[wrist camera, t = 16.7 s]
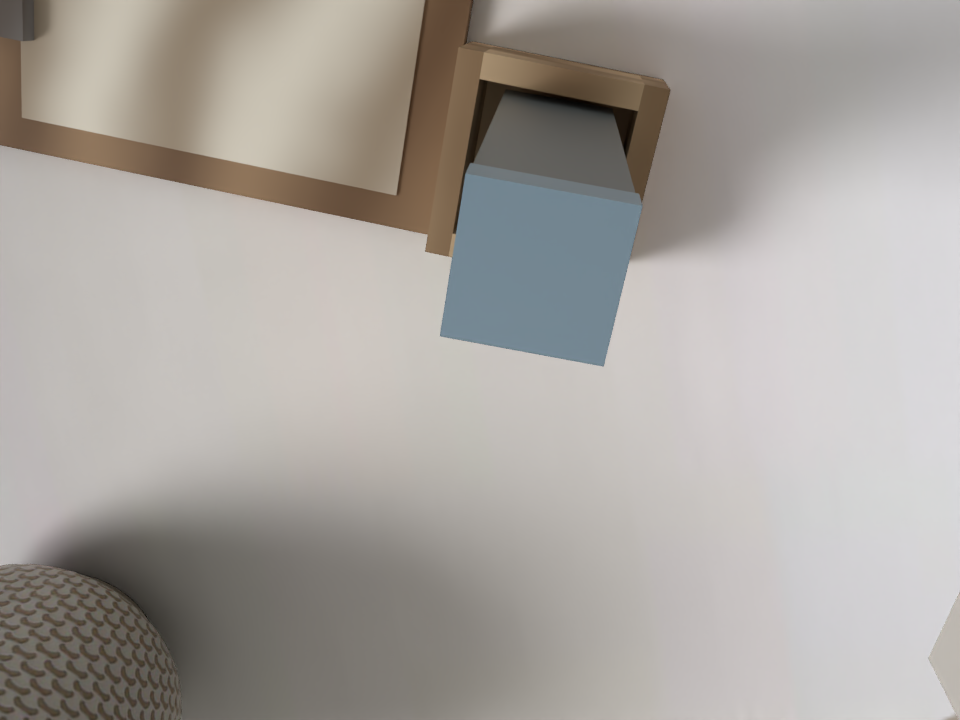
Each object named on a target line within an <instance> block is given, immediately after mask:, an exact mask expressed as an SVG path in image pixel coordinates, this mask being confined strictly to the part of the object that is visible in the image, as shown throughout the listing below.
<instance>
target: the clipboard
mask: <svg viewBox="0 0 960 720" xmlns="http://www.w3.org/2000/svg"><path fill="white" fill-rule="evenodd" d="M472 5H473V0H0V145H3V146H7V147H12V148H17V149H22V150H27V151H31V152H36V153H41V154H46V155H50V156H55V157H60V158H65V159H70V160H74V161H79V162H84V163H89V164H93V165H98V166H103V167H108V168H113V169H117V170H122V171H127V172H132V173H136V174H141V175H146V176H151V177H156V178H160V179H165V180H170V181H175V182H179V183H184V184H189V185H194V186H199V187H203V188H208V189H213V190H218V191H222V192H227V193H232V194H237V195H241V196H246V197H251V198H256V199H261V200H265V201H270V202H275V203H280V204H284V205H289V206H294V207H299V208H304V209H308V210H313V211H318V212H323V213H327V214H332V215H337V216H342V217H347V218H351V219H356V220H361V221H366V222H370V223H375V224H380V225H385V226H390V227H394V228H399V229H404V230H409V231H413V232H418V233H423V234H428V231H429V225H430V219H431V213H432V207H433V201H434V195H435V188H436V182H437V176H438V170H439V164H440V158H441V152H442V146H443V139H444V133H445V127H446V121H447V115H448V109H449V103H450V97H451V91H452V84H453V78H454V72H455V66H456V60H457V54H458V48H459V47H460V46H463V45H465V44H466V41H467V35H468V29H469V23H470V17H471V11H472Z"/></svg>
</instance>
